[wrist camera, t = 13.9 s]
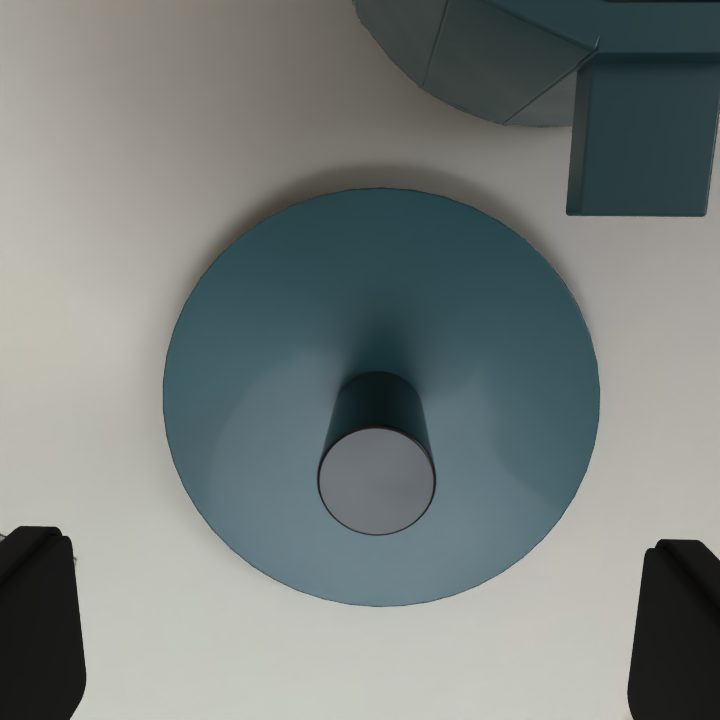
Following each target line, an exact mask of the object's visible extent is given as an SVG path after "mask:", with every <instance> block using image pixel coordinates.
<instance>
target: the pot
mask: <svg viewBox="0 0 720 720" xmlns="http://www.w3.org/2000/svg"><path fill="white" fill-rule="evenodd" d="M352 3H353V5H354V8H355V11H356V13H357V16H358V18H359V19H360V22H361V23H362V24H363V25H364V27H365V28H366V29H367V30H368V31H369V32H370V34H371V35H372V37H373V38H374V39H375V41H376V42H377V43H378V44H379V46H380V47H381V48H382V49H383V51H384V52H385V53H386V54H387V56H388V57H389V58H390V59H391V60H392V61H393V62H394V63H395V64H396V65H397V66H398V67H399V68H400V69H401V70H402V71H403V72H404V73H405V74H406V75H407V76H408V77H409V78H410V79H411V80H413V81H414V82H415V83H416V84H417V85H418V86H419V87H420V88H422V89H423V90H425V91H427V92H429V93H430V94H432V95H433V96H435V97H436V98H438V99H440V100H442V101H444V102H446V103H448V104H450V105H451V106H453V107H455V108H457V109H459V110H461V111H464V112H467V113H469V114H472V115H475V116H478V117H480V118H483V119H486V120H490V121H494V122H496V123H498V124H502V125H513V126H527V127H541V128H543V127H558V126H573V129H572V142H571V154H570V167H569V179H568V192H567V204H566V214H567V215H568V216H657V217H703V216H705V215H706V212H707V205H708V197H709V189H710V181H711V174H712V166H713V158H714V151H715V143H716V135H717V127H718V120H719V112H720V0H352Z"/></svg>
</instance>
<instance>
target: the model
mask: <svg viewBox="0 0 720 720" xmlns="http://www.w3.org/2000/svg"><path fill="white" fill-rule="evenodd" d="M5 538H6V537H3V536H0V542H1V541H2V540H4V539H5ZM75 563H76V559H74V567H75Z"/></svg>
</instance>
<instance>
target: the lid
mask: <svg viewBox="0 0 720 720" xmlns="http://www.w3.org/2000/svg"><path fill="white" fill-rule="evenodd" d="M599 409H600V385H599V376H598V367H597V360H596V356H595V352H594V348H593V345H592V341H591V337H590V333H589V331H588V329H587V326H586V324H585V321H584V319H583V316H582V314H581V312H580V309H579V307H578V305H577V304H576V302H575V300H574V298H573V297H572V295H571V293H570V292H569V290H568V288H567V287H566V285H565V283H564V282H563V280H562V279H561V278H560V277H559V275H558V274H557V273H556V272H555V270H554V269H553V268H552V267H551V265H550V264H549V263H548V262H547V260H546V259H545V258H544V257H543V256H542V255H541V254H540V253H539V252H537V251H536V250H535V249H534V248H533V247H532V246H531V245H530V244H529V243H528V242H527V241H526V240H525V239H524V238H522V237H521V236H520V235H518V234H517V233H515V232H514V231H513V230H511V229H510V228H508V227H507V226H506V225H504V224H503V223H501V222H500V221H498V220H496V219H495V218H493V217H491V216H489V215H487V214H485V213H483V212H481V211H479V210H477V209H476V208H474V207H472V206H469V205H466V204H463V203H460V202H458V201H455V200H452V199H449V198H447V197H444V196H440V195H435V194H430V193H426V192H421V191H416V190H409V189H396V188H383V187H381V188H365V189H350V190H345V191H340V192H335V193H330V194H325V195H320V196H318V197H315V198H312V199H309V200H306V201H303V202H300V203H297V204H294V205H292V206H290V207H288V208H286V209H284V210H282V211H280V212H278V213H276V214H274V215H272V216H270V217H268V218H266V219H264V220H263V221H261V222H260V223H258V224H257V225H256V226H254V227H253V228H251V229H250V230H248V231H247V232H245V233H244V234H243V235H241V236H240V237H239V238H238V239H237V240H236V241H234V242H233V243H232V244H231V245H230V246H229V247H228V248H227V249H226V250H225V251H224V252H223V253H221V254H220V255H219V256H218V258H217V259H216V260H215V261H214V262H213V264H212V265H211V266H210V267H209V268H208V270H207V271H206V272H205V273H204V274H203V276H202V277H201V278H200V280H199V281H198V283H197V285H196V286H195V288H194V290H193V291H192V293H191V294H190V296H189V298H188V299H187V301H186V303H185V305H184V307H183V309H182V312H181V314H180V316H179V319H178V321H177V323H176V325H175V328H174V331H173V334H172V338H171V341H170V345H169V349H168V352H167V356H166V364H165V371H164V378H163V414H164V421H165V429H166V436H167V440H168V444H169V447H170V451H171V455H172V458H173V462H174V464H175V467H176V469H177V472H178V474H179V476H180V479H181V481H182V484H183V486H184V488H185V490H186V491H187V493H188V495H189V497H190V498H191V500H192V502H193V503H194V505H195V507H196V509H197V510H198V511H199V513H200V514H201V515H202V517H203V518H204V519H205V521H206V522H207V523H208V525H209V526H210V527H211V529H212V530H213V531H214V532H215V533H216V534H217V535H218V536H219V537H220V538H221V539H222V540H223V541H224V542H225V543H226V544H227V545H228V546H229V547H230V548H231V549H232V550H233V551H234V552H235V553H237V554H238V555H239V556H240V557H242V558H243V559H244V560H245V561H247V562H248V563H249V564H250V565H252V566H253V567H255V568H256V569H258V570H260V571H261V572H263V573H264V574H266V575H268V576H269V577H271V578H272V579H274V580H276V581H278V582H280V583H283V584H285V585H287V586H289V587H291V588H293V589H295V590H297V591H300V592H303V593H306V594H309V595H312V596H315V597H318V598H321V599H325V600H330V601H335V602H340V603H344V604H350V605H361V606H372V607H386V606H406V605H413V604H419V603H426V602H431V601H435V600H438V599H442V598H446V597H450V596H453V595H456V594H458V593H461V592H464V591H466V590H469V589H471V588H474V587H476V586H479V585H480V584H482V583H484V582H486V581H488V580H490V579H491V578H493V577H495V576H497V575H499V574H501V573H502V572H504V571H505V570H506V569H508V568H509V567H511V566H512V565H513V564H515V563H516V562H518V561H519V560H520V559H522V558H523V557H524V556H525V555H526V554H528V553H529V552H530V551H531V550H532V549H533V548H534V547H535V546H536V545H537V544H538V543H539V542H541V541H542V540H543V539H544V537H545V536H546V535H547V534H548V533H549V532H550V530H551V529H552V528H553V527H554V526H555V524H556V523H557V522H558V521H559V520H560V518H561V517H562V515H563V514H564V512H565V511H566V509H567V507H568V506H569V504H570V503H571V501H572V500H573V498H574V496H575V495H576V492H577V490H578V488H579V486H580V484H581V482H582V480H583V477H584V475H585V473H586V471H587V468H588V465H589V461H590V458H591V455H592V452H593V449H594V445H595V440H596V434H597V428H598V422H599Z"/></svg>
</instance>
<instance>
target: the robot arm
mask: <svg viewBox="0 0 720 720" xmlns="http://www.w3.org/2000/svg"><path fill="white" fill-rule="evenodd" d="M85 686H86V667H85V658H84V649H83V640H82V631H81V622H80V613H79V604H78V595H77V585H76V576H75V567H74V558H73V549H72V543H71V540H70V538H69V537H68V536H62V533H61V531H60V529H58V528H57V527H42V526H20V527H18V528H16V529H15V530H14V531H13V532H11V533H10V534H9V535H8V536H7V537H6V538H5V539H4V540H2V541H1V542H0V720H70V718H71V717H72V715H73V713H74V712H75V710H76V708H77V707H78V705H79V703H80V701H81V699H82V697H83V694H84V691H85ZM627 695H628V704H629V708H630V712H631V715H632V717H633V719H634V720H720V560H719V559H718V558H717V557H716V556H715V555H714V554H713V553H712V552H711V551H710V550H709V549H708V548H707V547H706V546H705V545H704V544H703V543H702V542H700V541H699V540H675V539H661V540H659V541H658V542H657V544H656V546H655V548H649V549H647V551H646V553H645V557H644V563H643V571H642V579H641V587H640V595H639V603H638V611H637V618H636V626H635V634H634V642H633V650H632V658H631V666H630V673H629V681H628V691H627Z"/></svg>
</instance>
